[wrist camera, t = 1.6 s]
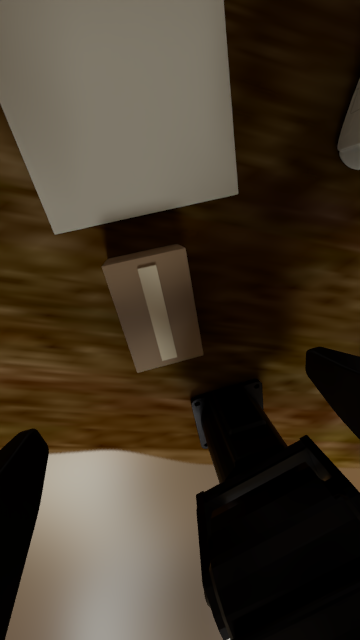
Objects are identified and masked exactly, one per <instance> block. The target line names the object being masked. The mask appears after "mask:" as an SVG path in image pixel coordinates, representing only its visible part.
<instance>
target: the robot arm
mask: <svg viewBox="0 0 360 640" xmlns="http://www.w3.org/2000/svg"><path fill="white" fill-rule="evenodd" d="M305 369H306V373H307V375H308V377H309V378H310V380H311V381H312V382H313V383H314V385H315V386H316V387H317V389H318V390H319V391H320V393H321V394H322V395H323V397H324V398H325V399H326V401H327V402H328V403H329V405H330V406H331V407H332V409H333V410H334V411H335V412H336V414H337V415H338V416H339V417H340V418H341V419H342V421H343V422H344V423H345V424H346V425H347V426H348V427H349V428H350V429H351V431H352V432H353V433H354V434H355V435H356V436H357V437H358V438H359V439H360V357H359V356H355V355H351V354H347V353H343V352H339V351H335V350H331V349H327V348H324V347H315V348H312V349H309V350H307V352H306V367H305ZM195 402H197V403H195ZM191 405H192V409H193V414H194V418H195V422H196V426H197V430H198V434H199V438H200V442H201V446H202V448H204V449H206V448H208V449H209V452H210V455H211V458H212V461H213V464H214V467H215V470H216V473H217V477H218V480H219V483H220V484H219V485H216V486H215V487H213V488H211V489H209V490H207V491H205V492H204V491H202V492H200V493H198V494H197V495H196V500H197V523H198V535H199V547H200V559H201V571H202V582H203V588H204V594H205V599H206V602H207V605H208V606H209V607H210V608H211V610H212V613H213V617H214V619H215V622H216V624H217V627H218V630H219V632H220V634H221V636H222V638H223V640H360V492H358V490H357V489H356V488H355V487H354V486H353V485H352V483H351V482H350V481H349V480H348V479H347V478H346V477H345V476H344V475H343V474H342V473H341V471H340V470H339V469H338V468H337V467H336V466H335V465H334V464H333V463H332V462H331V461H330V460H329V458H328V457H327V456H326V455H325V454H324V453H323V452H322V451H321V450H320V449H319V448H318V446H317V445H316V444H315V443H314V442H313V441H312V440H311V439H310V438H309V437H308V436H307V435H305V436H303V437H301V438H300V440H299V441H297V442H295V443H294V444H292V445H290V446H287V445H286V443H285V442H284V440H283V439H282V437H281V436H280V434H279V433H278V431H277V430H276V428H275V427H274V425H273V424H272V423H271V421H270V420H269V418H268V417H267V415H266V414H265V412H264V411H263V394H262V383H261V382H260V381H259V380H258V379H253V380H250V381H246V382H243V383H239V384H236V385H233V386H229V387H226V388H222V389H219V390H216V391H212V392H209V393H205V394H202V395H198V396H195V397H193V398H192V399H191ZM48 454H49V449H48V445H47V443H46V442H45V441H44V439H43V438H42V436H41V435H40V433H39V432H38V430H36V429H29V430H26V431H22V432H20V433H18V434H17V435H16V436H15V437H14V438H13V439H12V440H11V441H10V442H8V443H7V444H6V445H5V446H4V447H3V448H2V449H1V450H0V640H5V637H6V633H7V630H8V626H9V622H10V618H11V614H12V611H13V607H14V603H15V599H16V595H17V592H18V588H19V584H20V580H21V576H22V573H23V569H24V565H25V561H26V557H27V553H28V550H29V546H30V542H31V538H32V535H33V530H34V527H35V523H36V519H37V515H38V511H39V506H40V501H41V495H42V490H43V484H44V478H45V471H46V466H47V460H48Z"/></svg>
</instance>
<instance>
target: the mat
mask: <svg viewBox="0 0 360 640" xmlns="http://www.w3.org/2000/svg"><path fill="white" fill-rule="evenodd" d="M0 104H1V106H2V109H3V111H4V113H5V116H6V118H7V121H8V123H9V125H10V128H11V130H12V133H13V135H14V138H15V140H16V142H17V145H18V147H19V150H20V152H21V154H22V157H23V159H24V162H25V164H26V166H27V169H28V171H29V174H30V176H31V179H32V181H33V183H34V186H35V188H36V191H37V193H38V195H39V198H40V200H41V203H42V205H43V207H44V210H45V212H46V215H47V217H48V219H49V222H50V224H51V227H52V229H53V232H54V234H60V233H64V232H69V231H74V230H78V229H83V228H87V227H92V226H96V225H101V224H105V223H110V222H114V221H119V220H123V219H128V218H133V217H137V216H142V215H146V214H151V213H155V212H160V211H164V210H169V209H173V208H178V207H183V206H187V205H192V204H196V203H201V202H205V201H210V200H214V199H219V198H223V197H228V196H233V195H237V194H238V183H237V170H236V157H235V143H234V130H233V117H232V104H231V91H230V78H229V65H228V52H227V39H226V26H225V13H224V0H0Z"/></svg>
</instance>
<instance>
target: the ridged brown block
mask: <svg viewBox="0 0 360 640" xmlns="http://www.w3.org/2000/svg"><path fill="white" fill-rule="evenodd" d="M102 269H103V272H104V275H105V278H106V281H107V284H108V287H109V290H110V293H111V296H112V299H113V302H114V305H115V308H116V311H117V314H118V317H119V320H120V322H121V325H122V328H123V331H124V334H125V337H126V340H127V343H128V346H129V349H130V352H131V355H132V358H133V361H134V364H135V367H136V370H137V373H139V372H143V371H146V370H150V369H154V368H158V367H161V366H165V365H169V364H172V363H176V362H180V361H184V360H187V359H191V358H195V357H199V356H202V355H203V349H202V343H201V337H200V331H199V325H198V319H197V313H196V307H195V301H194V295H193V290H192V284H191V278H190V272H189V266H188V260H187V254H186V248H184V247H182V246H181V245H179V244H173V245H168V246H164V247H159V248H155V249H150V250H146V251H141V252H136V253H132V254H127V255H123V256H118V257H114V258H109V259H107V260H106V262H105V263H104V264H103V266H102Z"/></svg>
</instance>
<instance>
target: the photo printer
mask: <svg viewBox="0 0 360 640" xmlns="http://www.w3.org/2000/svg"><path fill="white" fill-rule="evenodd" d="M337 150H338V151H340V152H339V155H340V158H341V159H342V161H343V162H344V163H345V164H346V165H347V166H348V167H350V168H352V169H356V170H360V78H359V81H358V84H357V87H356V90H355V92H354V94H353V97H352V100H351V103H350V106H349V109H348V111H347V114H346V117H345V120H344V123H343V126H342V129H341V133H340V137H339V140H338V145H337Z"/></svg>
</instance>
